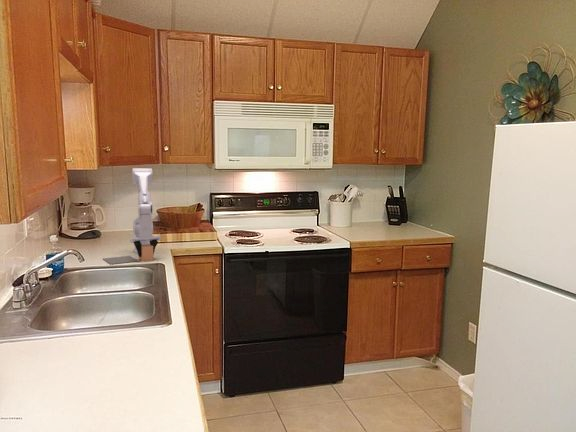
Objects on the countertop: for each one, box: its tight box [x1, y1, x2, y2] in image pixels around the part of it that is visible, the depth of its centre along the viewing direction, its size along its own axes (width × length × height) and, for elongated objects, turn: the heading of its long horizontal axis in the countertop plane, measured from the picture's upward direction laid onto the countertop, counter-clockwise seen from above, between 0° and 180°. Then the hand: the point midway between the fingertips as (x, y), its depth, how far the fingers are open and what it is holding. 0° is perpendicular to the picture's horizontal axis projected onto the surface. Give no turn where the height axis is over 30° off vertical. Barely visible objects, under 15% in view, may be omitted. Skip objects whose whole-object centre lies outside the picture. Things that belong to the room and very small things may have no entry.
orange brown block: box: [138, 244, 154, 262], centre depth 221 cm, size 5×5×7 cm
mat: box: [102, 255, 139, 265], centre depth 219 cm, size 13×13×1 cm
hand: (145, 255), depth 222 cm, fingers closed on orange brown block, 5 cm apart
